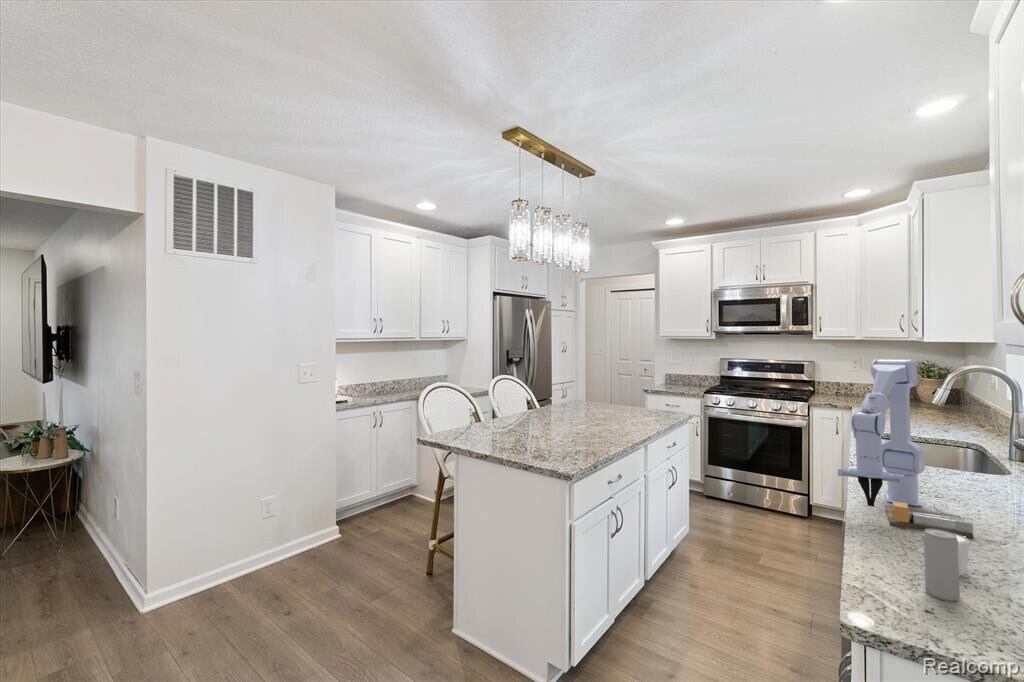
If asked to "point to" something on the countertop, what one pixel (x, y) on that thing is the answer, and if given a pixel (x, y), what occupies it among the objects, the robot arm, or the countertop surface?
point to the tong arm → (940, 516)
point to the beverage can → (941, 564)
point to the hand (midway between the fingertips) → (870, 505)
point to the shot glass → (963, 554)
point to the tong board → (932, 522)
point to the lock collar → (900, 512)
